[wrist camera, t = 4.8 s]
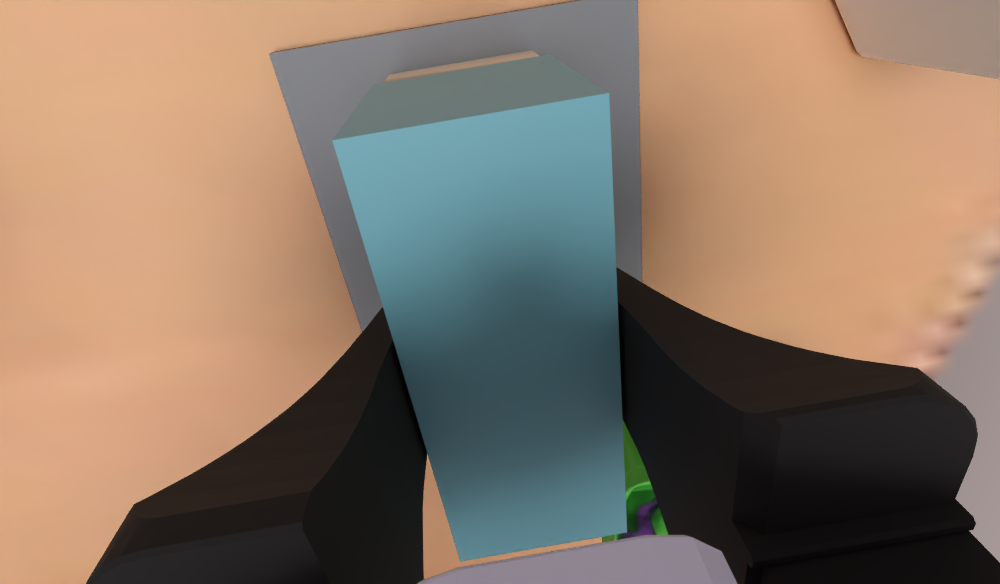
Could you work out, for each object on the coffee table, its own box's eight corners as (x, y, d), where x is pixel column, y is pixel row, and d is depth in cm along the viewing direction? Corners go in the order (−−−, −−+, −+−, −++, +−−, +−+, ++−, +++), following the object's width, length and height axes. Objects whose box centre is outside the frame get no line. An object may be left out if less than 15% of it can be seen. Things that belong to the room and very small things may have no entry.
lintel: (580, 393, 17) (627, 532, 13) (456, 414, 17) (460, 561, 13) (549, 54, 12) (608, 93, 8) (373, 84, 12) (332, 140, 8)
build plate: (639, 342, 21) (642, 349, 20) (384, 386, 21) (383, 394, 20) (631, -10, 15) (637, -9, 14) (274, 51, 15) (268, 53, 14)
